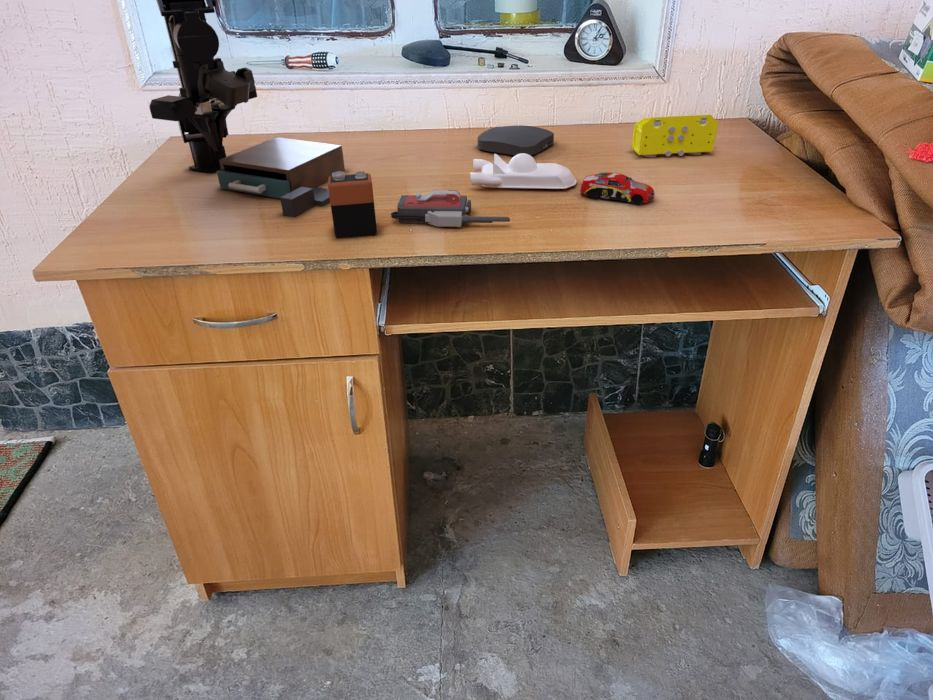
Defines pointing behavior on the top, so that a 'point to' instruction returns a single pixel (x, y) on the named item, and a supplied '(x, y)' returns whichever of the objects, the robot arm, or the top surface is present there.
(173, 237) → the top surface
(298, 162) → the drawer unit
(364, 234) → the battery
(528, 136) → the media streaming box
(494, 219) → the walkie-talkie
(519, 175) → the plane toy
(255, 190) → the drawer
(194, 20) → the robot arm
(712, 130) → the yellow toy chassis
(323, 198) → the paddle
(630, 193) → the race car
